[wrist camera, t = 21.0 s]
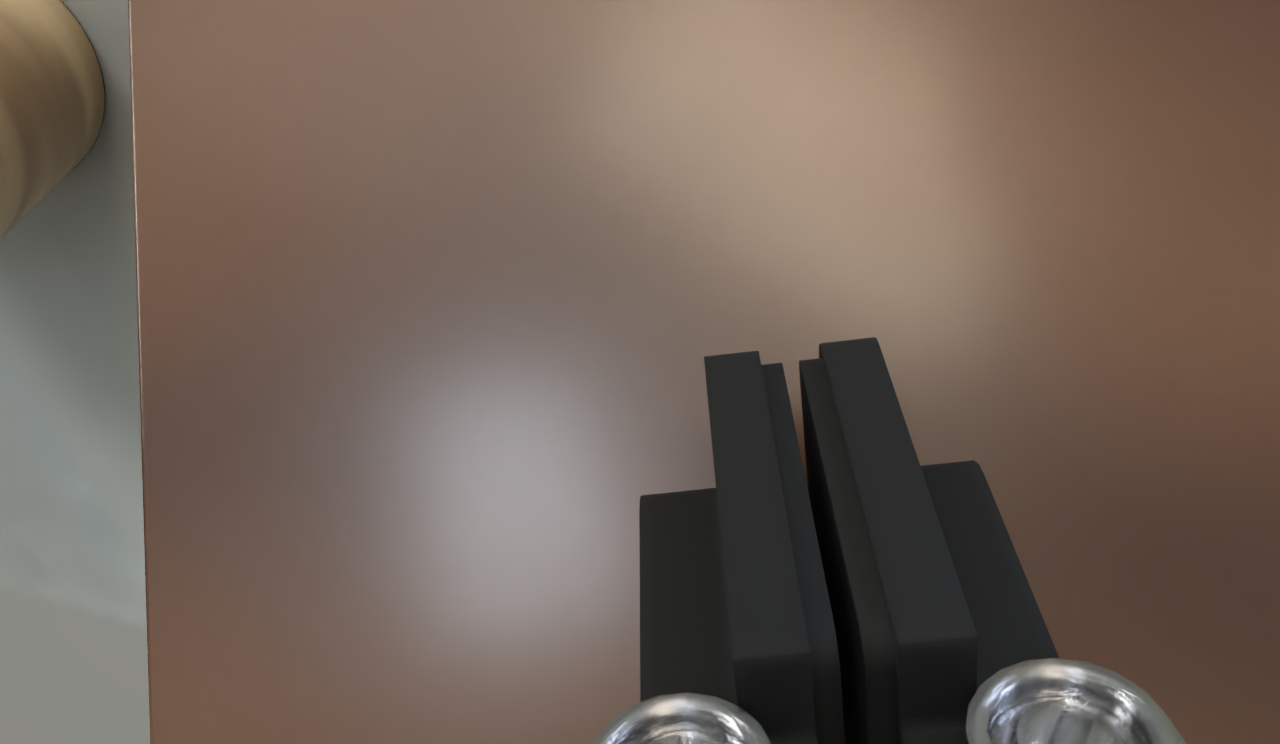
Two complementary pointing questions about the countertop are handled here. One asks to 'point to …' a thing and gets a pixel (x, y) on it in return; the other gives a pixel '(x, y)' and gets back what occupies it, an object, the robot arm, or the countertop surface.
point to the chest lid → (683, 328)
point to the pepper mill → (43, 102)
